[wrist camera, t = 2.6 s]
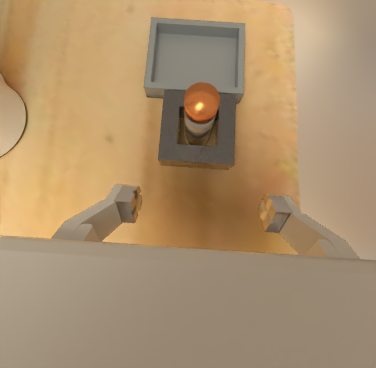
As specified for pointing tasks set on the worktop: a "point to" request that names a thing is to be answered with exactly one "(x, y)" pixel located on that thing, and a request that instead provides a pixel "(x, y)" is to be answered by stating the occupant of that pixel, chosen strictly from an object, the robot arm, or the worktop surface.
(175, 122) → the receiver
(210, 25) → the tray
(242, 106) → the worktop surface
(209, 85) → the pin
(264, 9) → the worktop surface
